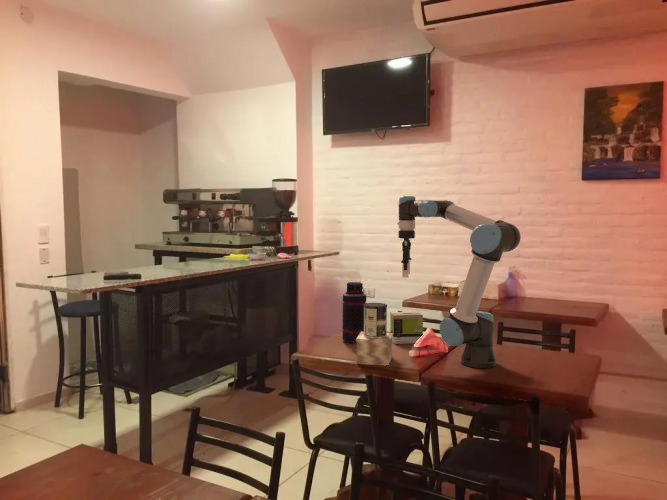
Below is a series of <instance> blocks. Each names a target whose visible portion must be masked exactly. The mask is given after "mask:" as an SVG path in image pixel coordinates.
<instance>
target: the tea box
mask: <svg viewBox="0 0 667 500" xmlns="http://www.w3.org/2000/svg"><path fill="white" fill-rule="evenodd" d="M389 315H390V327H389V328H390V332H389V333H393V337H392V344H394V345H396V344H398V345H402V344H415V343H414V342H416V341H417V340H418V339H419V338H420V337H421V336H422V335H423V336H424V316H423V314H422V313H421V312H419V311H391V312H390V314H389Z"/></svg>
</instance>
